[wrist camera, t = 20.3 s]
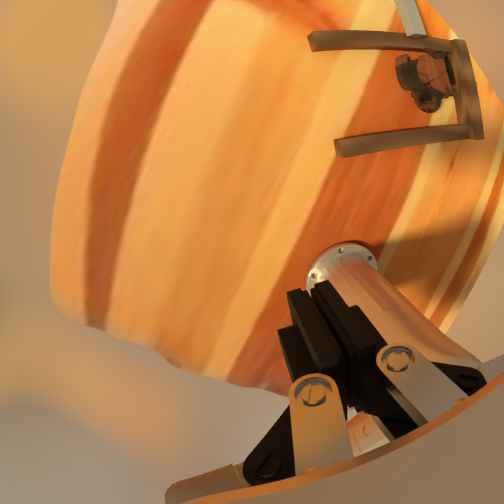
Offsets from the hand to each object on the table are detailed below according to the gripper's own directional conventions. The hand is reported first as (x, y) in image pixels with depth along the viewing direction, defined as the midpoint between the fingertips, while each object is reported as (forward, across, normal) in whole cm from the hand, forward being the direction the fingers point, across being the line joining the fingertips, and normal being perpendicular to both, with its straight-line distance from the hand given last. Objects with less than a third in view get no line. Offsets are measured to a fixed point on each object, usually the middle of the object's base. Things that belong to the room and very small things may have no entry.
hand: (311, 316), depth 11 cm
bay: (+29, -27, -10) cm, 41 cm away
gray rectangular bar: (+26, -30, -24) cm, 47 cm away
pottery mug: (+29, -31, -11) cm, 44 cm away
